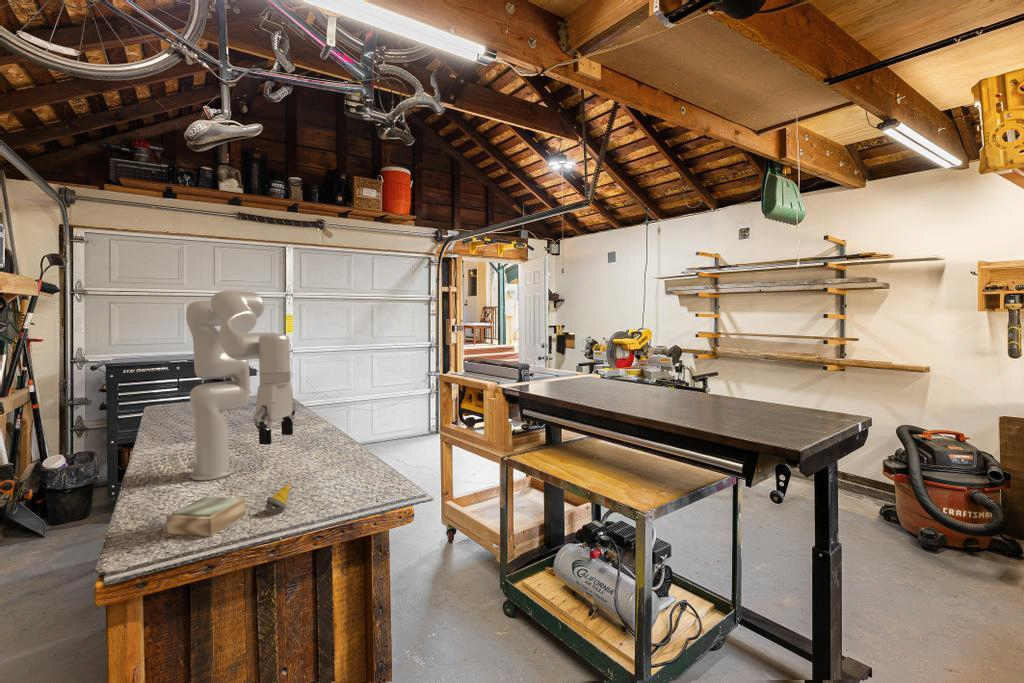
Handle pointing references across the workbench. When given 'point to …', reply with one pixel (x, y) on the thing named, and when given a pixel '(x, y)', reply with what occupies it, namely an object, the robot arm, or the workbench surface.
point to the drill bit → (278, 501)
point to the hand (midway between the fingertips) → (276, 439)
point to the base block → (206, 516)
